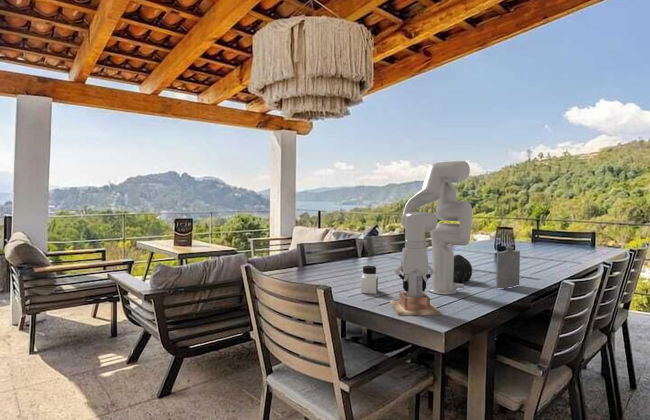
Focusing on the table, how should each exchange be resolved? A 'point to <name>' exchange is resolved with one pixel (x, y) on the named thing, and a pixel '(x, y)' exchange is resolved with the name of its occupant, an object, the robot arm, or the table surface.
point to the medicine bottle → (369, 280)
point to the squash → (461, 269)
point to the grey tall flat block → (508, 268)
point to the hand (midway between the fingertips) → (414, 290)
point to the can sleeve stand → (414, 305)
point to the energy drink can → (415, 284)
